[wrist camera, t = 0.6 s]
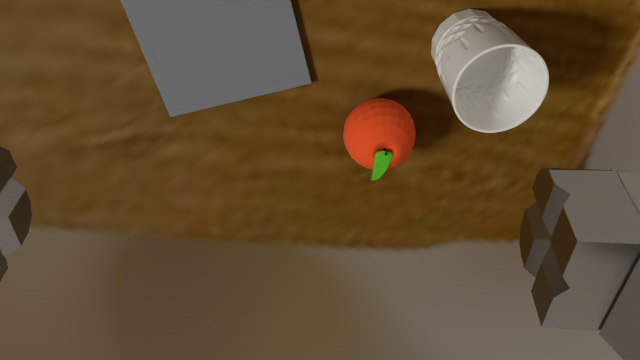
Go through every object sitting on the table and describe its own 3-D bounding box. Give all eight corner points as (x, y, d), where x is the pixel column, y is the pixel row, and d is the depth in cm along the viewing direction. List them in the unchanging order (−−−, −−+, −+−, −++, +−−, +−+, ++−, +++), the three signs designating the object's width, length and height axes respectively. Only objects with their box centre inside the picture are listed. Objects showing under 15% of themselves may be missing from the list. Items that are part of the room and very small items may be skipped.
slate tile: (105, -41, 49) (104, -39, 49) (269, -84, 48) (269, -82, 48) (170, 114, 58) (170, 117, 57) (311, 80, 57) (311, 83, 56)
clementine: (395, 157, 63) (409, 198, 57) (331, 150, 62) (338, 191, 56) (415, 90, 59) (432, 126, 53) (347, 80, 57) (357, 117, 52)
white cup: (478, 91, 59) (514, 144, 51) (409, 65, 57) (434, 116, 49) (523, 19, 55) (568, 64, 47) (450, -12, 53) (485, 29, 45)
